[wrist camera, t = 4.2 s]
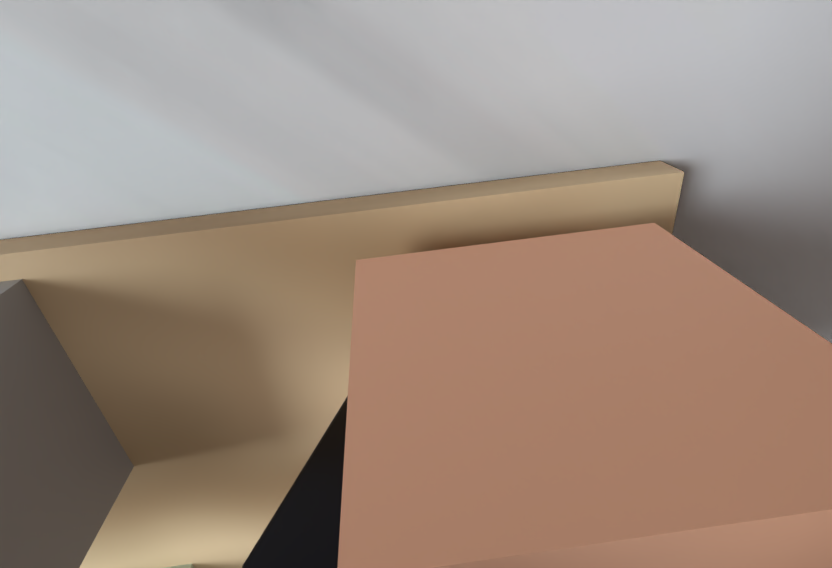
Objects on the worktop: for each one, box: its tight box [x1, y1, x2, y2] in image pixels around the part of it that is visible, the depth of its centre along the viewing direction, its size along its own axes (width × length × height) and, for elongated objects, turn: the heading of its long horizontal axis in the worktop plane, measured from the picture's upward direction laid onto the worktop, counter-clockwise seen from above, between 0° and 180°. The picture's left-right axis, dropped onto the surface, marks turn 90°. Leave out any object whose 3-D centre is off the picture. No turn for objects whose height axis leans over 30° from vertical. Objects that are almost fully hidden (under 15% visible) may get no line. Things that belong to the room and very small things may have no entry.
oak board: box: [0, 161, 684, 568], centre depth 12 cm, size 15×18×1 cm
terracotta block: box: [337, 223, 832, 568], centre depth 7 cm, size 5×5×5 cm
